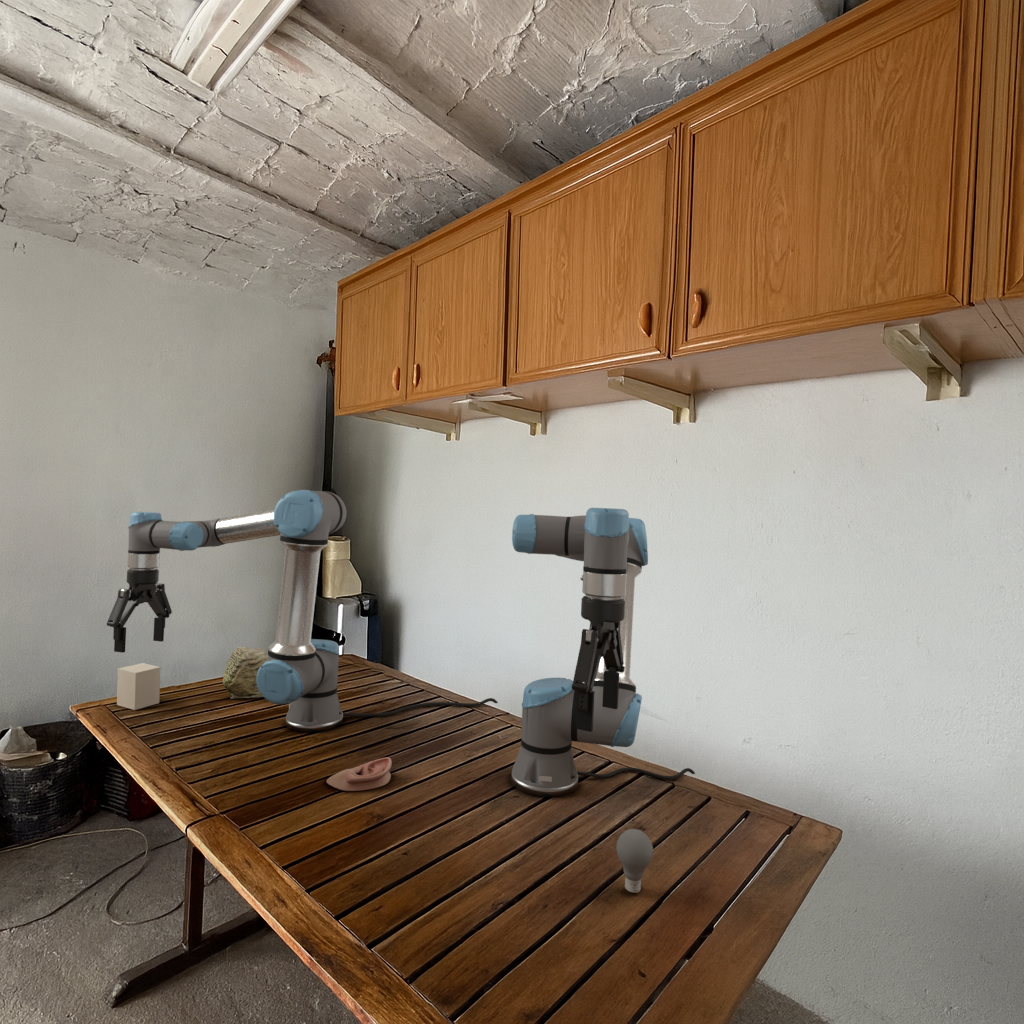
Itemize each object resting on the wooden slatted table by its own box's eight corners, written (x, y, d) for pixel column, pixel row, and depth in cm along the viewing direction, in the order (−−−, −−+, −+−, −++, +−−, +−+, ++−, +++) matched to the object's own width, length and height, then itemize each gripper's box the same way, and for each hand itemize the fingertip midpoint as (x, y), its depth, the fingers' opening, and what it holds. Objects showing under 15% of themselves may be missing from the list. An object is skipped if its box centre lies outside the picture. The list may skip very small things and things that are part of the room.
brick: (141, 698, 190) (142, 662, 190) (159, 703, 187) (160, 667, 187) (116, 704, 184) (117, 668, 184) (134, 710, 180) (135, 672, 180)
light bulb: (610, 879, 108) (613, 822, 108) (644, 879, 109) (647, 822, 109) (619, 902, 102) (622, 840, 102) (655, 901, 103) (658, 840, 103)
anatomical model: (320, 769, 137) (344, 749, 149) (319, 787, 138) (343, 766, 149) (377, 777, 135) (397, 756, 146) (376, 795, 135) (397, 773, 146)
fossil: (218, 695, 195) (220, 647, 195) (278, 685, 208) (279, 640, 207) (228, 703, 189) (230, 653, 188) (289, 692, 201) (290, 645, 201)
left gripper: (165, 563, 185) (161, 635, 186) (92, 572, 161) (88, 655, 161) (187, 565, 184) (184, 638, 184) (117, 574, 159) (114, 658, 160)
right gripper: (605, 587, 123) (600, 696, 123) (555, 602, 101) (549, 735, 101) (643, 591, 119) (638, 703, 120) (600, 608, 97) (594, 745, 97)
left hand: (139, 646), depth 173 cm, fingers open, 13 cm apart
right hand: (597, 718), depth 110 cm, fingers open, 13 cm apart
